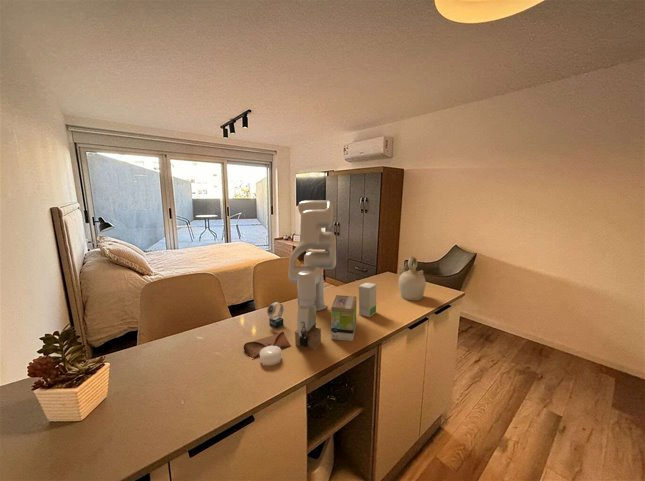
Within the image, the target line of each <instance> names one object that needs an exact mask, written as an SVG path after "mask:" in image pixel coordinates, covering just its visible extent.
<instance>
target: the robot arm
mask: <svg viewBox="0 0 645 481" xmlns="http://www.w3.org/2000/svg"><path fill="white" fill-rule="evenodd" d="M297 209H298V213H299V214H300V225H299V226H300V232H299V233H300V234H299V242H298V244H297V245H296V247H295V248H294V249H293V250H292V252H291V254H290V257H289V259H288V260H289V262H288V280H289V282H291V283H292V284H295V285H297V286H296V287H297V306H298V308H297V324H296V326H297V327H296V328H297V329H298V334H299V338H300V346H302V347H301V348H305V347H307V346H308V338H307V332H308V331H309V330H310V329H311V328H312V327H315V328H317V312H321V311H323V310H325V309H327V306H328V305H327V303H326V302H325V297H324V296H325V295H324V289H325V288H324V283H325V282H324V274H323V271H322V270H333V269H335V267H337V241H336V240H337V239H336V238H337V237H336V235H335V233H334V232H332V231H322V229H323V228H324V229H326V228H327V229H328V228H331V227H332V225H333V221H334V205H333V202H332V201H331V200H327V199H325V200H323V199H322V200H321V199H320V200H312V199H311V200H302V201H299V203H298V206H297ZM308 250H316V251H309V252H308ZM318 250H319V251H318ZM321 250H322V251H321ZM323 250H325V251H323ZM305 252H306V253H305ZM303 253H305V254H304V255H303V262H304V263H303V264H304V265H296V263H297V260H298V258H299V256H300V255H302V254H303ZM303 328H306V330H304V329H303ZM297 329H296V330H297ZM302 331H304V332H305V335H304V334H303V332H302ZM300 346H299V347H300Z"/></svg>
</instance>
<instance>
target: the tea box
mask: <svg viewBox="0 0 645 481" xmlns="http://www.w3.org/2000/svg"><path fill="white" fill-rule="evenodd" d="M330 311H331V314H330V315H331V316H330V317H331V318H330V320H331V321H330V339H331V340H339V341H350V342H353V341H354V338H355V334H356V327H357V296H354V295H338V294H337V295H335V298H334V300H333V303H332V304H331V309H330Z"/></svg>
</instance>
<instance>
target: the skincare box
mask: <svg viewBox="0 0 645 481" xmlns="http://www.w3.org/2000/svg"><path fill="white" fill-rule="evenodd" d="M376 313H377V284H376V283H371V282H365V283H362V284H360V285H358V315H360V316H363V317H367V318H370V317H372V316H373V315H374V314H376Z"/></svg>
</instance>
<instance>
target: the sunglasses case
mask: <svg viewBox="0 0 645 481" xmlns="http://www.w3.org/2000/svg"><path fill="white" fill-rule="evenodd" d="M267 346H278V347H280V348H281V350H282V348H283V349H286V348H290V347H292V344H291V343H290V342H289V340H288V339H287V337H286V334H285V332H284V331H281V332H279V333H276V334H273V335H270V336H269V335H268V336H266V337H263V338H259V339H256V340H253V341H248V342H245V343H244V345H243V351H244V350H245V351H244V353H245V352H246V353H247V354H248V355H247V354H246V353H245V354H246V355H247V356H249V357H251V358H255V359H257V358H259V357H258V356H260V351H261V350H262V349H263V348H265V347H267ZM249 357H248V358H249ZM256 357H257V358H256Z"/></svg>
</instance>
